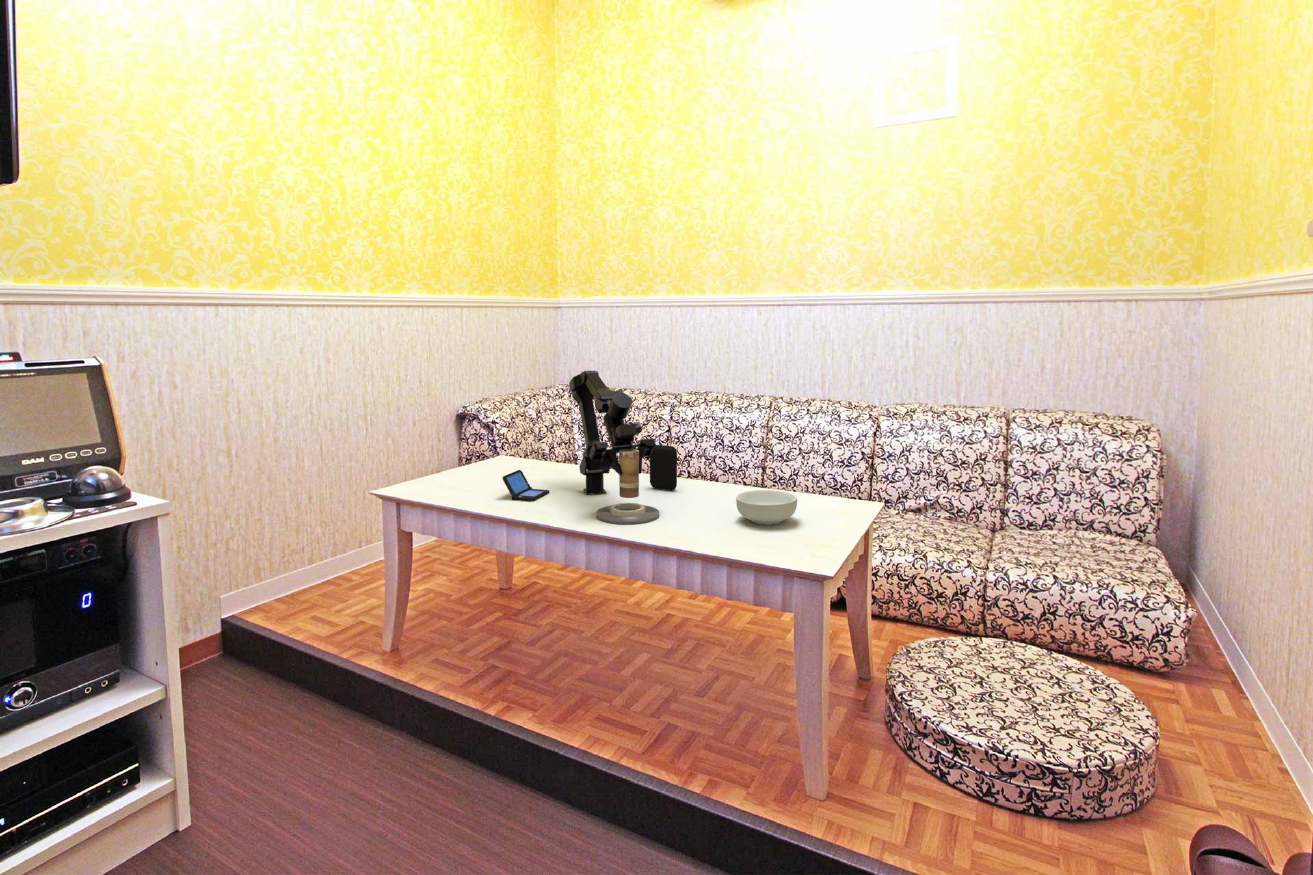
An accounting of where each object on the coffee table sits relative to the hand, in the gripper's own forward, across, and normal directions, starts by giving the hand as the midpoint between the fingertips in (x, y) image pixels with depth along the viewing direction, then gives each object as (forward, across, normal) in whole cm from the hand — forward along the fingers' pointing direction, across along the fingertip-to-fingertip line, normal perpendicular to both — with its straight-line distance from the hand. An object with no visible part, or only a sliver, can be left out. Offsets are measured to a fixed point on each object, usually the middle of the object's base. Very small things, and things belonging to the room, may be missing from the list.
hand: (630, 473), depth 204 cm
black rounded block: (-10, +22, +28) cm, 36 cm away
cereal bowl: (+22, +33, -4) cm, 40 cm away
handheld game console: (-16, -21, +34) cm, 43 cm away
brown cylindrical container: (+4, 0, +6) cm, 7 cm away
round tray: (+8, 0, +10) cm, 12 cm away
